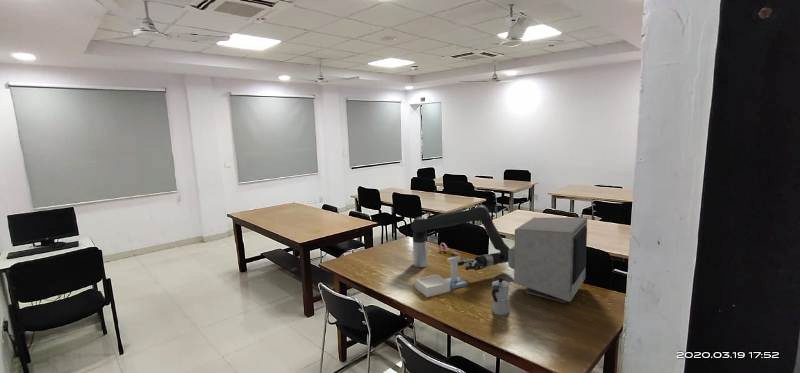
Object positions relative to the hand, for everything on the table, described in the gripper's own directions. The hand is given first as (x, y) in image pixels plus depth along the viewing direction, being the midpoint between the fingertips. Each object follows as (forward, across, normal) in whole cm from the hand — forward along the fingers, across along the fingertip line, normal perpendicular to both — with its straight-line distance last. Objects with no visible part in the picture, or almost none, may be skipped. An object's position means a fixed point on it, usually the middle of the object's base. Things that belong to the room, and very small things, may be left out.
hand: (461, 266), depth 220 cm
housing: (+20, 0, +10) cm, 23 cm away
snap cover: (+5, 0, +10) cm, 12 cm away
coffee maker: (+4, +40, +10) cm, 41 cm away
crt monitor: (-33, +32, +11) cm, 47 cm away
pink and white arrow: (-22, -49, +10) cm, 54 cm away
